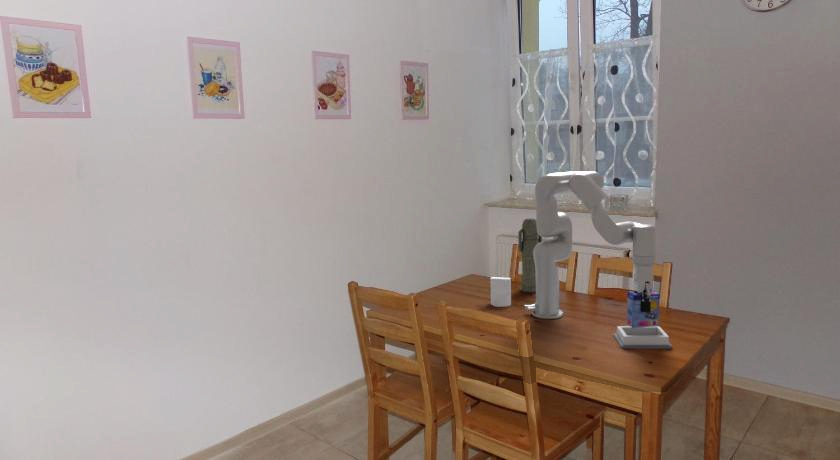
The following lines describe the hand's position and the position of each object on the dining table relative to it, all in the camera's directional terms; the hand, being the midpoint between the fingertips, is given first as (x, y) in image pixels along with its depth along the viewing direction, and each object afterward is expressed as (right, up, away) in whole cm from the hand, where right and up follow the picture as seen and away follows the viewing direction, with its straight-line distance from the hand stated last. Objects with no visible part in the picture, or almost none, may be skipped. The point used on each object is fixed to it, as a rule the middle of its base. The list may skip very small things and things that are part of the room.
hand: (642, 308), depth 203 cm
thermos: (-25, -2, +76) cm, 80 cm away
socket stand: (+1, -12, +2) cm, 12 cm away
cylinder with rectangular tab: (-43, -6, +55) cm, 70 cm away
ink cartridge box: (0, -6, +1) cm, 6 cm away
